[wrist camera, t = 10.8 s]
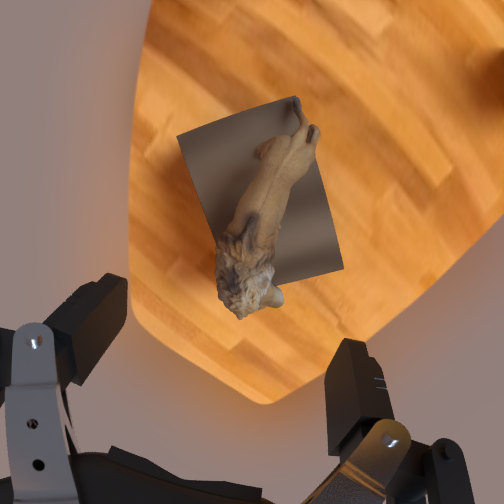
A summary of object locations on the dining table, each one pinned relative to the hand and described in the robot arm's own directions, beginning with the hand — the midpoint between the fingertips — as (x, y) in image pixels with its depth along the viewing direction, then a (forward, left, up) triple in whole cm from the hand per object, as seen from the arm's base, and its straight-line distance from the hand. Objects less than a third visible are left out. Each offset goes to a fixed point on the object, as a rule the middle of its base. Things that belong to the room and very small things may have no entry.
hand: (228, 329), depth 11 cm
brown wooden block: (0, 0, -24) cm, 24 cm away
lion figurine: (-1, +1, -16) cm, 16 cm away
